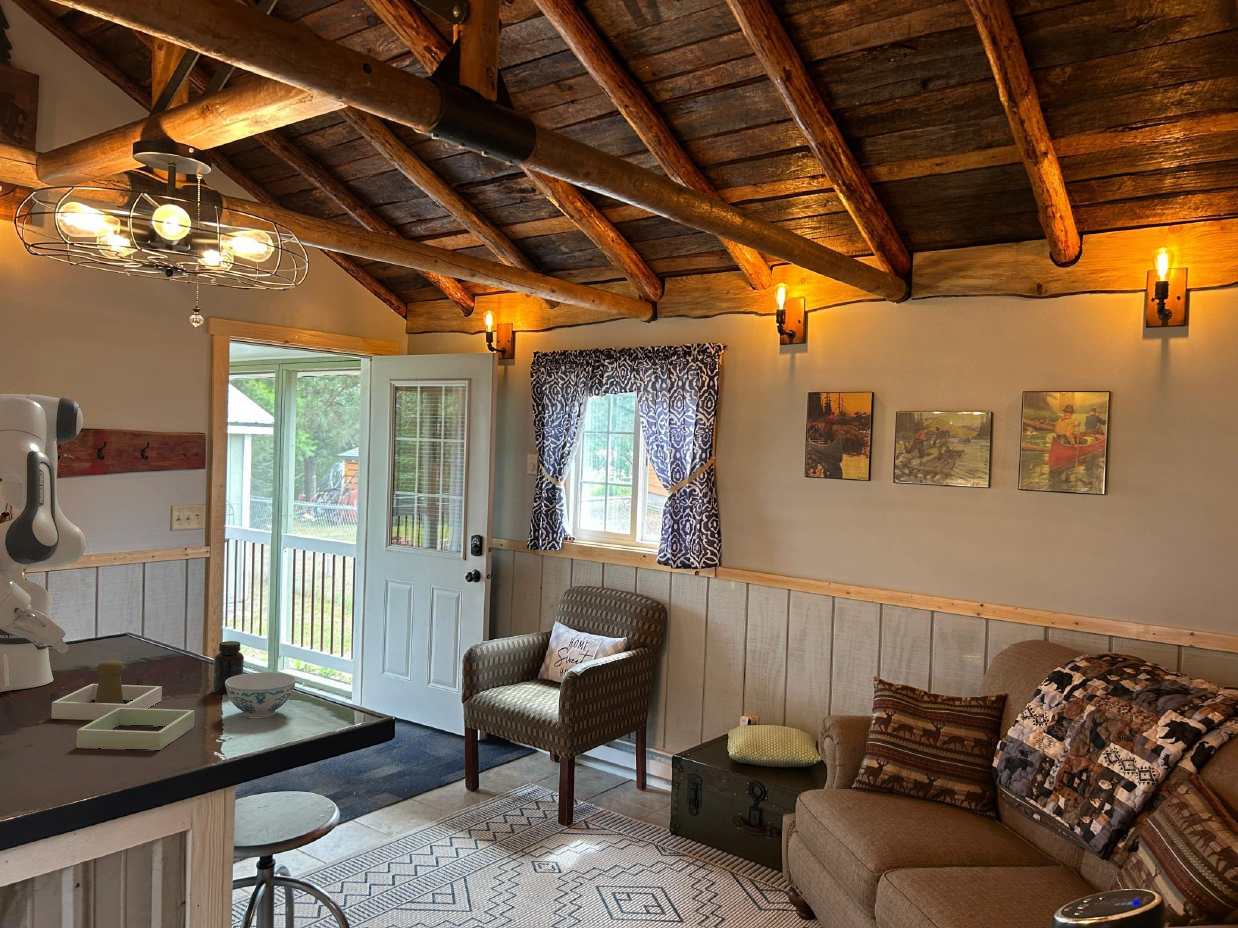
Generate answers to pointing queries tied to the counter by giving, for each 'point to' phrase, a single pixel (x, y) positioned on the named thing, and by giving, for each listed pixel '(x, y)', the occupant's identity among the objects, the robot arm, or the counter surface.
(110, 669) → the cork
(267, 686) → the chinaware
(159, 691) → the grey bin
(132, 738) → the sage bin
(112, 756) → the counter surface
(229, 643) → the supplement bottle
